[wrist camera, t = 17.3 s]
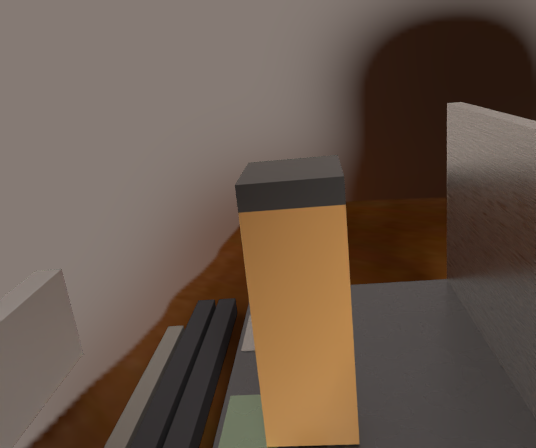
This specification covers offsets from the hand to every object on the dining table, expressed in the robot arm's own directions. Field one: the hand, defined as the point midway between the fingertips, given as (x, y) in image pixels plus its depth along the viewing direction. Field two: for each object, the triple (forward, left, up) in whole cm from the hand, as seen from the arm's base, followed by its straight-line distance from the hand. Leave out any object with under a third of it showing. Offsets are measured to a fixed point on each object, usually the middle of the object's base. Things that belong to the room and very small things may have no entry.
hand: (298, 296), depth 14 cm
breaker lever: (-10, -2, -12) cm, 16 cm away
